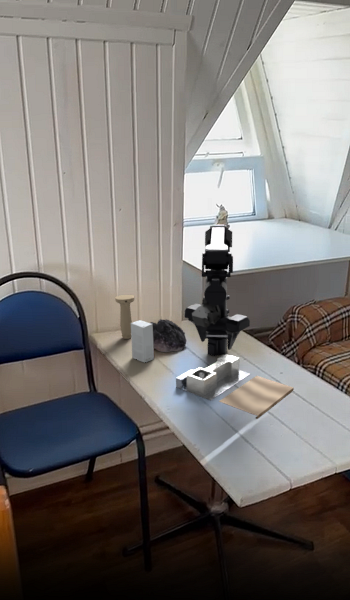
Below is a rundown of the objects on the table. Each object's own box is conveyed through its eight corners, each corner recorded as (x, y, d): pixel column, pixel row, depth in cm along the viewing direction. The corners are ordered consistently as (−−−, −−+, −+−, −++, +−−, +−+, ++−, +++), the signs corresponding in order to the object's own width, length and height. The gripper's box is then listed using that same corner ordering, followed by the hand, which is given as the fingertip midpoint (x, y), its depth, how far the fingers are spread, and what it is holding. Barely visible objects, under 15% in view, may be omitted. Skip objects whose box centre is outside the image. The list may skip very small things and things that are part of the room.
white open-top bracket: (223, 366, 167) (223, 353, 166) (240, 372, 163) (240, 358, 162) (186, 389, 154) (186, 374, 153) (203, 395, 150) (203, 380, 149)
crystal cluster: (193, 342, 189) (192, 314, 187) (178, 354, 177) (176, 325, 175) (158, 340, 195) (157, 312, 193) (141, 351, 183) (139, 322, 180)
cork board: (256, 378, 161) (256, 375, 161) (293, 390, 154) (293, 387, 154) (218, 404, 148) (218, 401, 147) (257, 419, 140) (257, 415, 140)
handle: (137, 339, 191) (135, 298, 186) (118, 341, 189) (116, 300, 185) (134, 334, 195) (132, 294, 190) (116, 336, 194) (114, 295, 189)
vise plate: (217, 365, 170) (217, 349, 168) (250, 376, 163) (251, 359, 161) (176, 390, 155) (175, 373, 154) (210, 403, 148) (210, 385, 146)
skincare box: (154, 359, 176) (153, 323, 172) (144, 363, 173) (143, 327, 169) (141, 353, 180) (139, 319, 176) (131, 358, 177) (129, 323, 173)
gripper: (171, 294, 151) (172, 346, 156) (227, 308, 139) (226, 364, 145) (196, 284, 159) (196, 334, 164) (251, 296, 147) (249, 350, 153)
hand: (216, 345), depth 156 cm, fingers open, 9 cm apart
